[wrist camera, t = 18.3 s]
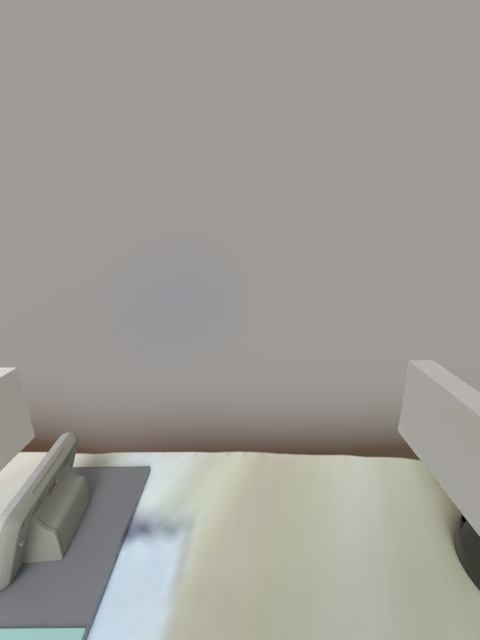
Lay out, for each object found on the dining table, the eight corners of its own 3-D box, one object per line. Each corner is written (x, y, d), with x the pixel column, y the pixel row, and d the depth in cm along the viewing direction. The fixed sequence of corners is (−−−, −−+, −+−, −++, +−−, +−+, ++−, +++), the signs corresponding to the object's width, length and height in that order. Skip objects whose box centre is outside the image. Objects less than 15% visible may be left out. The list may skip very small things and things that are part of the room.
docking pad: (149, 471, 53) (149, 464, 52) (79, 656, 30) (77, 648, 30) (48, 472, 53) (47, 466, 53) (-99, 658, 30) (-103, 650, 30)
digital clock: (61, 480, 50) (47, 426, 47) (111, 485, 49) (101, 430, 46) (-37, 593, 35) (-67, 523, 31) (33, 604, 33) (10, 532, 30)
